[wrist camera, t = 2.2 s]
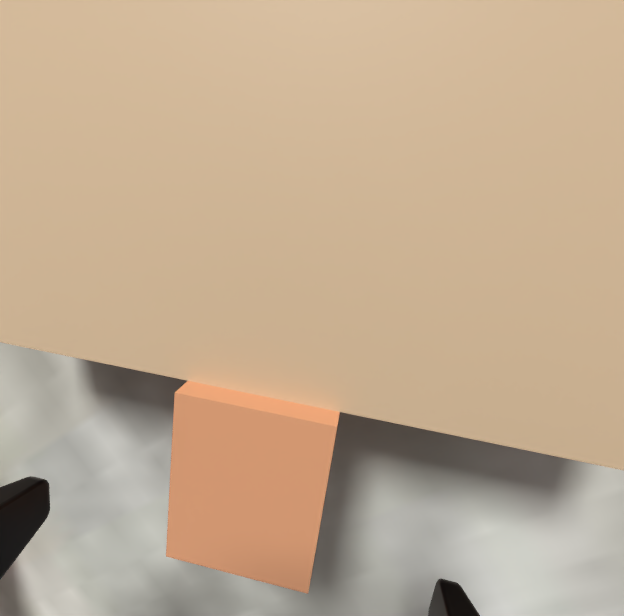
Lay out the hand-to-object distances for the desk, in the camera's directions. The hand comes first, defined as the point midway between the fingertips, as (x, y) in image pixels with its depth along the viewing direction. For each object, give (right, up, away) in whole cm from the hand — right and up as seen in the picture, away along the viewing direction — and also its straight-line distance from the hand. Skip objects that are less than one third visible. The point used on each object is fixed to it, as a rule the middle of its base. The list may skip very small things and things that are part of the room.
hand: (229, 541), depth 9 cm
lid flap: (+1, +6, +2) cm, 6 cm away
